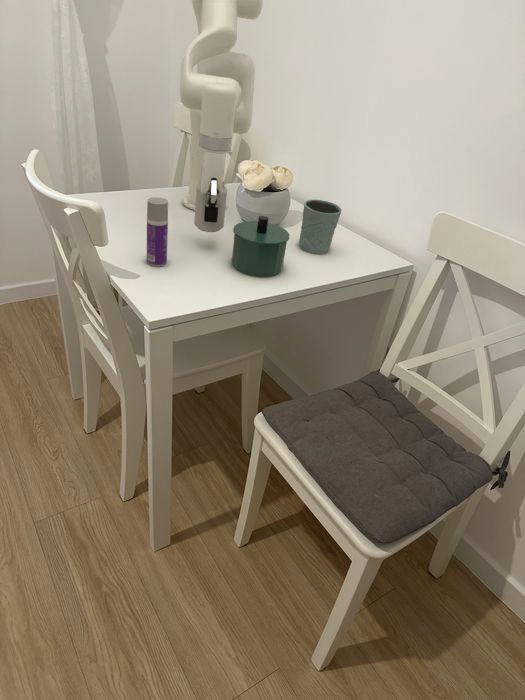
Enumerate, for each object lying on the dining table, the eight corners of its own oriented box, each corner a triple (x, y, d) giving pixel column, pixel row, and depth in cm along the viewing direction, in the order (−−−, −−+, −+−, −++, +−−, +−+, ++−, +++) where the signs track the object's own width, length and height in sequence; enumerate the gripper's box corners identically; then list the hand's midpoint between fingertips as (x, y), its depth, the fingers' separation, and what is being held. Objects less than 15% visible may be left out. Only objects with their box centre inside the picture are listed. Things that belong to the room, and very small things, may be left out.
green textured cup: (306, 237, 147) (314, 196, 141) (337, 248, 144) (347, 207, 137) (290, 247, 140) (297, 204, 133) (323, 259, 136) (332, 215, 130)
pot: (233, 275, 121) (237, 242, 116) (230, 253, 131) (233, 221, 126) (285, 278, 123) (291, 246, 119) (277, 256, 133) (282, 225, 129)
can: (218, 236, 127) (223, 188, 120) (190, 229, 127) (192, 182, 120) (226, 225, 133) (231, 179, 126) (199, 219, 134) (202, 173, 127)
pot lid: (235, 245, 116) (237, 226, 114) (230, 223, 127) (232, 205, 125) (293, 249, 119) (296, 230, 116) (283, 227, 130) (286, 210, 127)
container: (167, 266, 120) (169, 204, 112) (147, 266, 119) (148, 204, 110) (165, 258, 124) (166, 197, 115) (145, 258, 122) (145, 196, 114)
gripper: (198, 131, 124) (194, 201, 134) (200, 151, 110) (195, 228, 121) (229, 134, 126) (222, 203, 136) (234, 155, 112) (226, 230, 122)
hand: (209, 214), depth 128 cm, fingers closed on can, 7 cm apart
